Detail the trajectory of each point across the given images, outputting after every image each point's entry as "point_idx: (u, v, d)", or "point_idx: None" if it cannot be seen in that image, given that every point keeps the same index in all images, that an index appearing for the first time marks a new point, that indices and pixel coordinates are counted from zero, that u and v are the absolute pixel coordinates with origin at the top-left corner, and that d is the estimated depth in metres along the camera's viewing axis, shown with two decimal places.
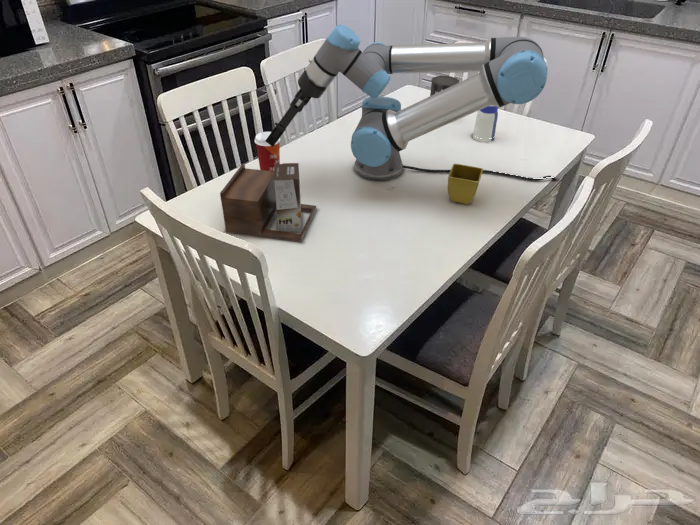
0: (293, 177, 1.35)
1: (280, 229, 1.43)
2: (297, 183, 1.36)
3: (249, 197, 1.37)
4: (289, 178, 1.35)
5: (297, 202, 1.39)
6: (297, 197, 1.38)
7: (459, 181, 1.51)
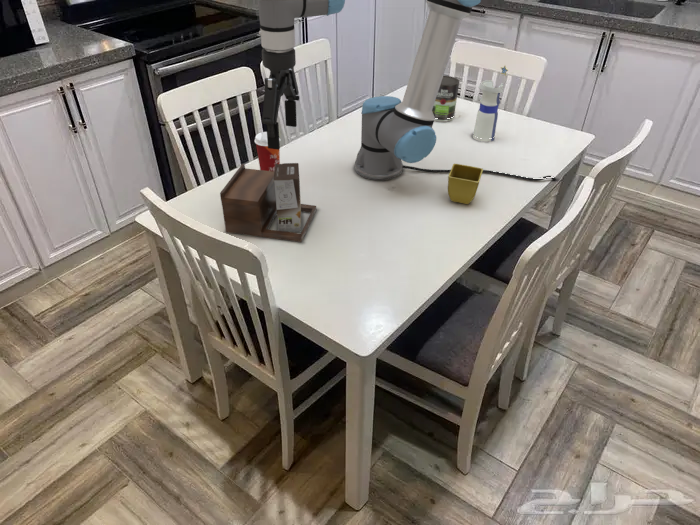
0: (293, 177, 1.35)
1: (280, 229, 1.43)
2: (297, 183, 1.36)
3: (249, 197, 1.37)
4: (289, 178, 1.35)
5: (297, 202, 1.39)
6: (297, 197, 1.38)
7: (459, 181, 1.51)
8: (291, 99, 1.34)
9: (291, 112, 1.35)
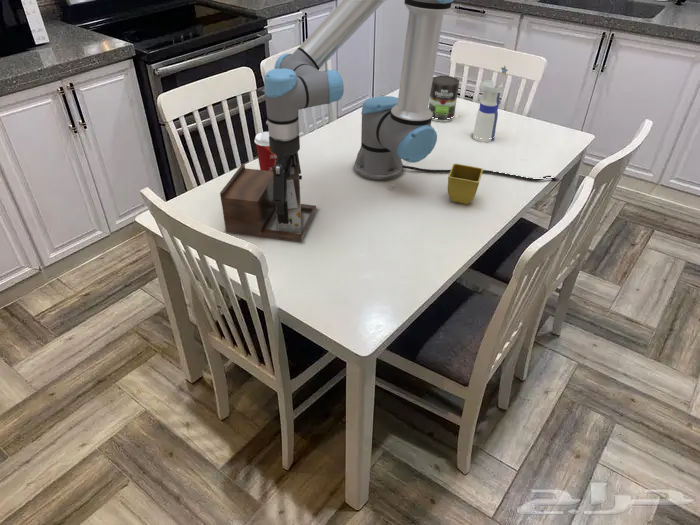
0: (293, 177, 1.35)
1: (280, 229, 1.43)
2: (297, 183, 1.36)
3: (249, 197, 1.37)
4: (289, 178, 1.35)
5: (297, 202, 1.39)
6: (297, 197, 1.38)
7: (459, 181, 1.51)
8: None
9: None
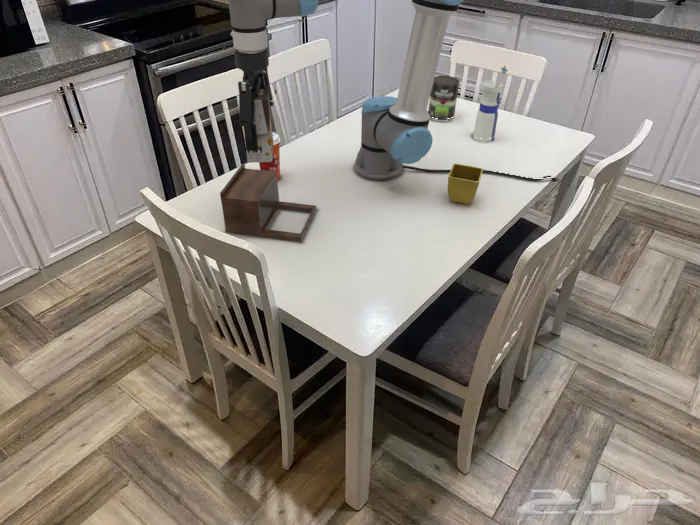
0: (262, 97, 1.24)
1: (249, 158, 1.32)
2: (266, 104, 1.24)
3: (249, 197, 1.37)
4: (258, 98, 1.23)
5: (267, 127, 1.27)
6: (267, 121, 1.26)
7: (459, 181, 1.51)
8: None
9: None
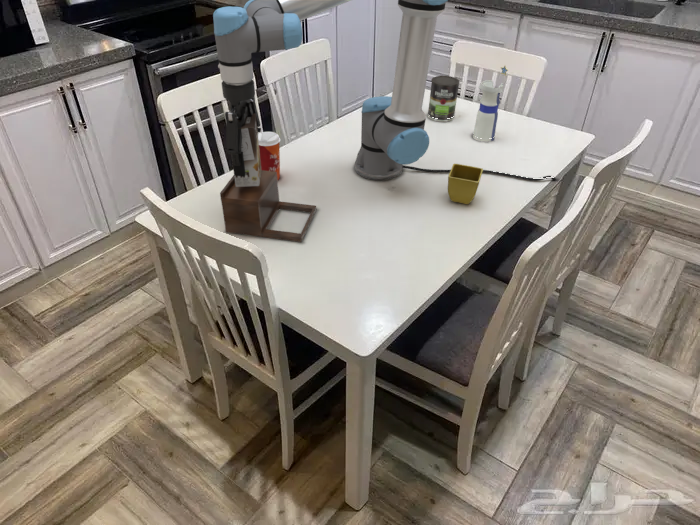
0: (248, 126, 1.29)
1: (237, 183, 1.37)
2: (252, 132, 1.29)
3: (249, 197, 1.37)
4: (244, 127, 1.28)
5: (253, 153, 1.33)
6: (253, 148, 1.32)
7: (459, 181, 1.51)
8: None
9: None
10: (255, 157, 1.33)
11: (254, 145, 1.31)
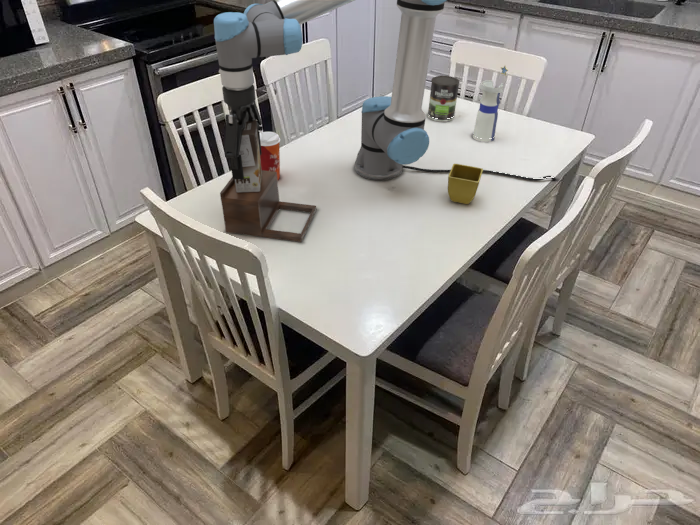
0: (249, 132, 1.30)
1: (238, 189, 1.38)
2: (253, 139, 1.30)
3: (249, 197, 1.37)
4: (245, 134, 1.30)
5: (254, 160, 1.34)
6: (254, 154, 1.33)
7: (459, 181, 1.51)
8: None
9: None
10: (256, 163, 1.34)
11: (255, 151, 1.32)
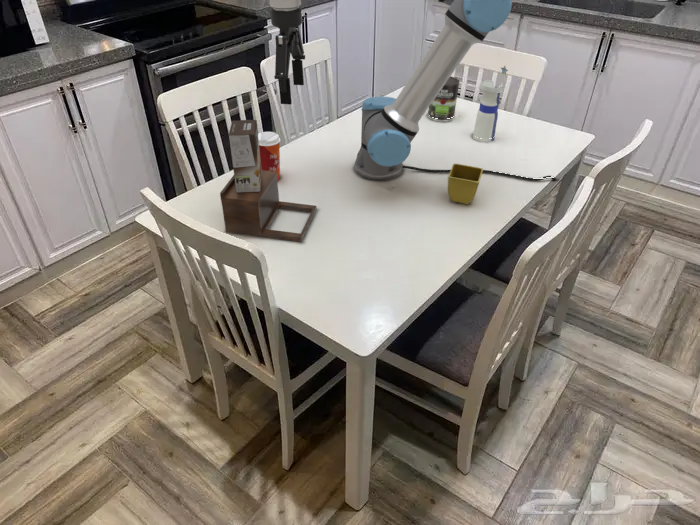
0: (249, 132, 1.30)
1: (238, 189, 1.38)
2: (253, 139, 1.30)
3: (249, 197, 1.37)
4: (245, 134, 1.30)
5: (254, 159, 1.34)
6: (254, 154, 1.33)
7: (459, 181, 1.51)
8: (298, 58, 1.43)
9: (298, 71, 1.44)
10: (256, 163, 1.34)
11: (255, 151, 1.32)
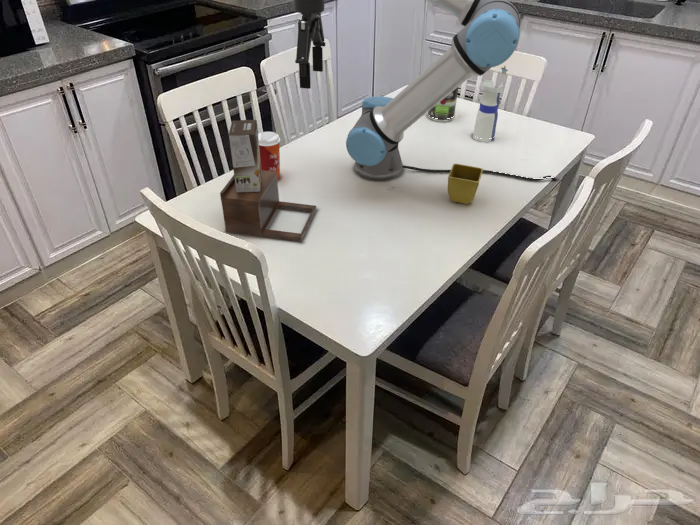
0: (249, 132, 1.30)
1: (238, 189, 1.38)
2: (253, 139, 1.30)
3: (249, 197, 1.37)
4: (245, 134, 1.30)
5: (254, 159, 1.34)
6: (254, 154, 1.33)
7: (459, 181, 1.51)
8: (318, 45, 1.48)
9: (318, 57, 1.49)
10: (256, 163, 1.34)
11: (255, 151, 1.32)
